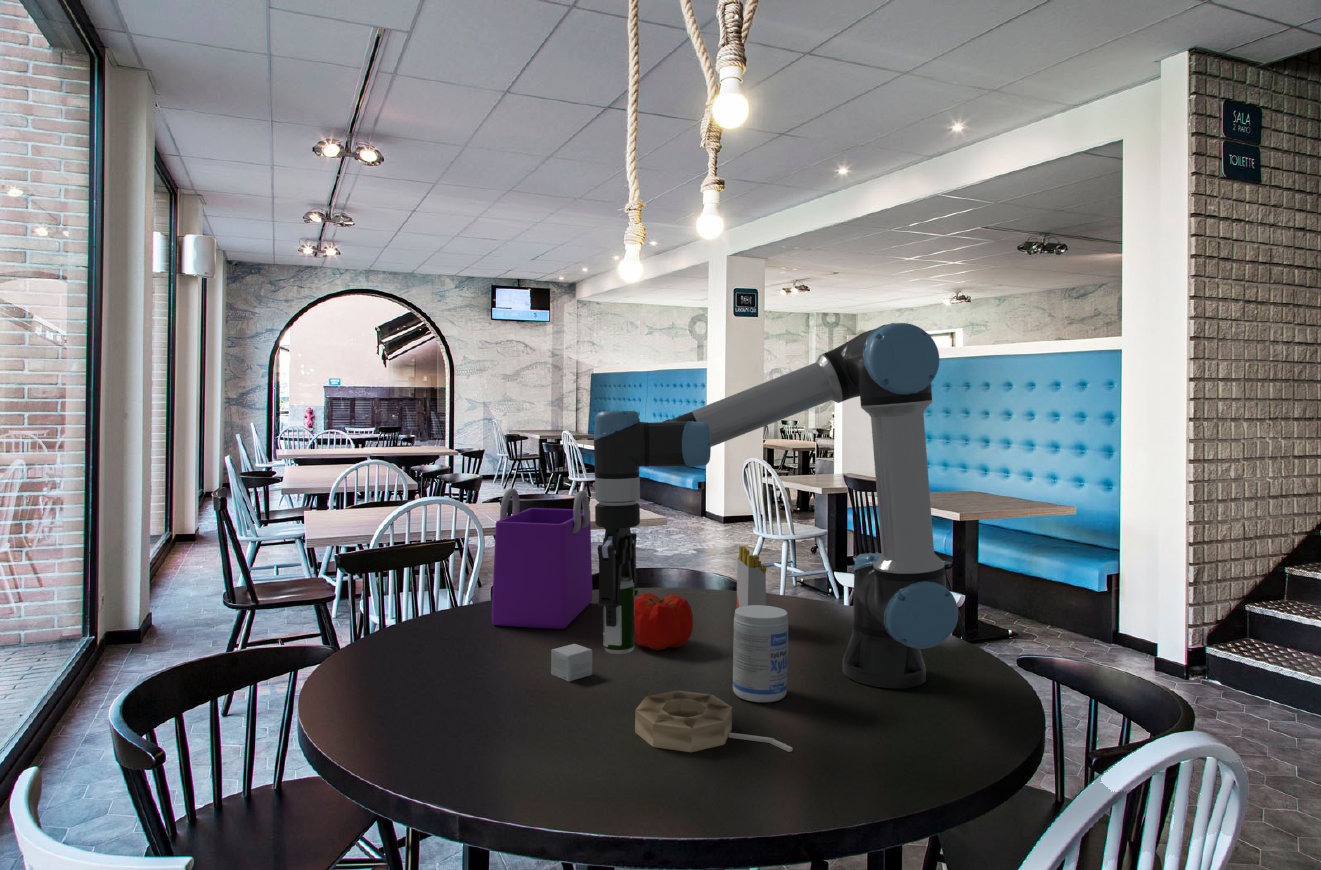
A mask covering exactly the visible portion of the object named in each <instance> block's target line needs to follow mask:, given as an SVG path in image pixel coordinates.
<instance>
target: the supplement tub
mask: <svg viewBox="0 0 1321 870" xmlns="http://www.w3.org/2000/svg"><path fill="white" fill-rule="evenodd" d="M788 615H789V613H788V611H786V610H785V609H783V608H780V607H777V606H771V605H766V606H764V605H749V606H742V607H739V608H737V607H736V609H735V610H734V617H733V644H732V645H733V649H732V650H733V651H732V653H733V656H732V659H733V660H732V691H733V693H734V694H735V695H736V697H738V698H740V699H742V700H744V701H747V702H755V703H773V702H777V701H780V700H783V699H784V698H785V696H786V695H787V692H788V663H789V661H788V659H789V658H788V656H789V655H788V654H789V651H788V650H789V618H788V617H789V616H788Z"/></svg>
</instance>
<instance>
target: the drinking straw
mask: <svg viewBox="0 0 1321 870" xmlns="http://www.w3.org/2000/svg"><path fill="white" fill-rule="evenodd" d="M728 738H729V739H738V740H746V741H754V742H760V743H769V744H770V745H773V746H775V747H777V748H779V749H782V750H783V751H786V752H789V753H792V752H793V746H790V745H789V744H788V745H787V744H786V743H784V742H781V741H779V740H777V739H775V737H767V736H761V735H759V736H758V735H751V734H745V733H736V732H729V735H728Z"/></svg>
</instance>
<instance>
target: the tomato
mask: <svg viewBox="0 0 1321 870" xmlns="http://www.w3.org/2000/svg"><path fill="white" fill-rule="evenodd" d="M634 602H635V644H637V645H638V646H640V647H648V648H649V649H651V650H655V651H661V650H665V649H667V648H668V647H670V648H679V647H681V646H683V645H685V644H687V642H688V641H689V640H690V638H691V636H692V634H693V633H692V632H693V629H694V628H693V627H694V626H693V625H694V617H693V616H694V615H693V611H692V608H691V607H692V606H691V605H690V603H689V601H688V600H687V599H686V598H683V597H682V596H680V595H677V594H670V595H667V596H666V597H661V598H660V597H659V596H658V595H655V594H654V593H651V592H646V593H642V594H640V595H639V596H637V597H634Z"/></svg>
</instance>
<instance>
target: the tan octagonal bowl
mask: <svg viewBox="0 0 1321 870" xmlns="http://www.w3.org/2000/svg"><path fill="white" fill-rule="evenodd" d="M634 711H635V713H634V716H635V717H634V718H635V720H634V721H635V722H634V733H635V734H636V735H638V736H639V737H640V738H641V739H642V740H644V741H645V742H646V743H647V744H649V745H650V746H651V747H652V748H656V749H657V748H659V749H664V750H672V751H679V752H686V753H693V752H698V751H702V750H703V751H704V750H706V749H711V748H716V747H720V746H723V745H724V746H725V744H726V743H727V740H728V738H729V737H728V735H729V732H730V733H732V729H733V728H732V727H733V725H732V724H733V706H731V705H730V704H728V703H727V702H725V701H723V700H722V699H720V698H719V697H717V696H715V695H713V694H711V693H710V694H709V693H702V692H695V691H694V692H692V691H685V690H673V691H668V692H662V693H657V694H652V695H646V696H645V697H644V699H643V700H642V701H641V702H640V703H639V705H637V707H636V709H635V710H634Z"/></svg>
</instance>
